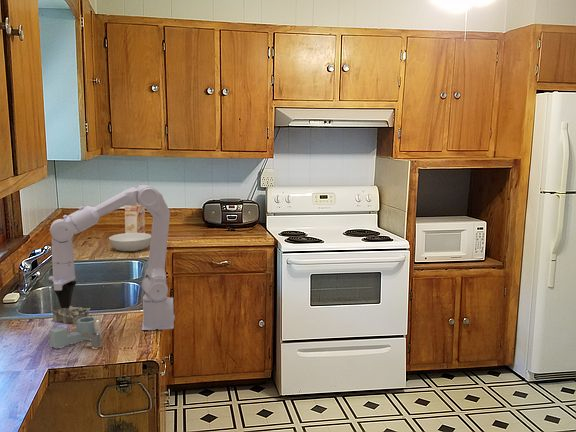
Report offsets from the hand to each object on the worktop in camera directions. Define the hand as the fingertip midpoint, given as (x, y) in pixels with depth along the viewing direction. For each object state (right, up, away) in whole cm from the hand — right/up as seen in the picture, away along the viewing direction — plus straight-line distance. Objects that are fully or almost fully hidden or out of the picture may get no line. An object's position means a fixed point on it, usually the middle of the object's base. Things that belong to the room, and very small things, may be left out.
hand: (65, 307), depth 155 cm
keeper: (+9, -10, -5) cm, 14 cm away
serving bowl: (-15, +9, +117) cm, 119 cm away
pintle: (+9, -10, 0) cm, 13 cm away
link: (+3, -10, 0) cm, 10 cm away
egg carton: (-5, -7, +17) cm, 20 cm away
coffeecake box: (-20, +13, +144) cm, 146 cm away
